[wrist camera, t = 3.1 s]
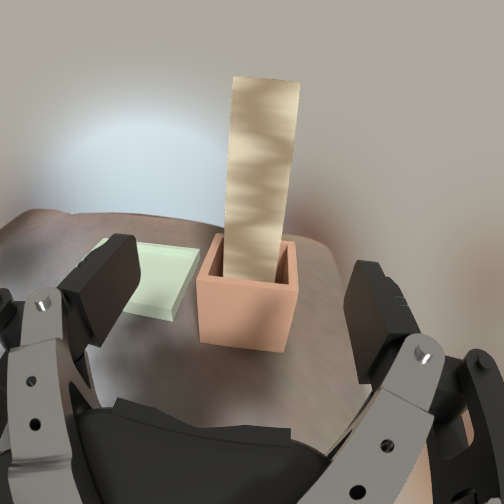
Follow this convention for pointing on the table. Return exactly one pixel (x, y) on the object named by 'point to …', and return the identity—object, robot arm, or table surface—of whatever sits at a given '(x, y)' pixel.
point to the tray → (161, 279)
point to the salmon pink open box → (246, 303)
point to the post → (258, 175)
